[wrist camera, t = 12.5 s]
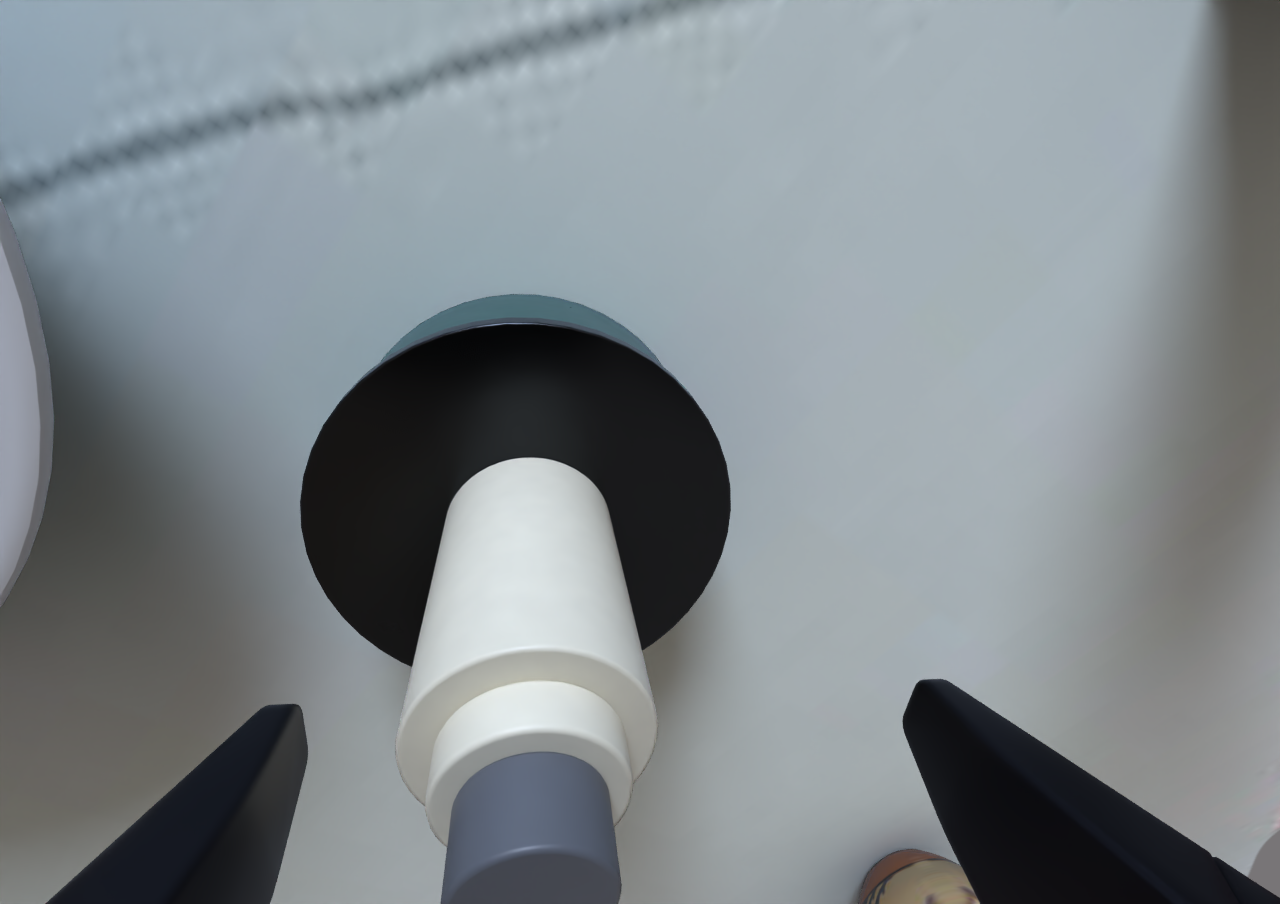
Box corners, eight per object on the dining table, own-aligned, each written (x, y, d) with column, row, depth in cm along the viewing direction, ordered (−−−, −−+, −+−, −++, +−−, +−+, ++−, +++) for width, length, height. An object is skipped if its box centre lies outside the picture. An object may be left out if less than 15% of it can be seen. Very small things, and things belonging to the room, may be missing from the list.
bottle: (617, 459, 16) (718, 783, 8) (602, 594, 18) (671, 979, 9) (443, 453, 15) (342, 811, 7) (446, 596, 17) (367, 1022, 9)
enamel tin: (716, 303, 20) (767, 340, 15) (669, 593, 24) (698, 681, 20) (332, 270, 17) (271, 302, 13) (360, 597, 22) (321, 696, 18)
